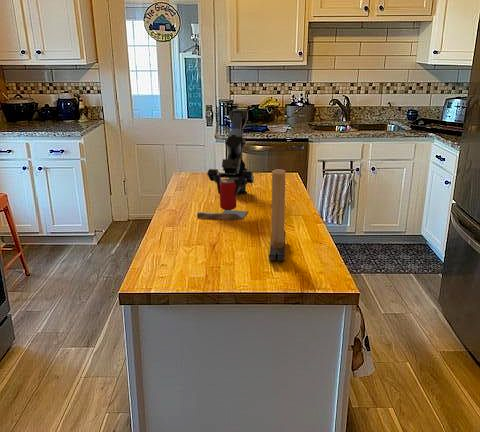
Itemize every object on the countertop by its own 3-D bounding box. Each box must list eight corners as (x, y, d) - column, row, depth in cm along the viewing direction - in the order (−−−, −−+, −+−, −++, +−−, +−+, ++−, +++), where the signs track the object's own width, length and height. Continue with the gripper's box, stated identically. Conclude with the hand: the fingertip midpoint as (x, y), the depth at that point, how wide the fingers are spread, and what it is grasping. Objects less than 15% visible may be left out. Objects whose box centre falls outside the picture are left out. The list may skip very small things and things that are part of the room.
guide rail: (197, 217, 195) (197, 212, 194) (198, 216, 196) (198, 211, 195) (235, 220, 191) (235, 215, 191) (236, 219, 193) (236, 214, 192)
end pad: (219, 217, 195) (219, 216, 195) (224, 210, 203) (224, 209, 203) (243, 219, 192) (243, 218, 192) (247, 212, 201) (247, 211, 201)
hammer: (284, 270, 152) (286, 186, 138) (268, 270, 153) (268, 186, 138) (285, 237, 170) (287, 159, 155) (271, 236, 170) (272, 158, 155)
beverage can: (237, 206, 200) (237, 178, 196) (235, 211, 193) (235, 182, 189) (221, 205, 200) (220, 178, 196) (219, 210, 194) (218, 182, 190)
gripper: (207, 149, 195) (200, 183, 188) (252, 151, 191) (246, 185, 184) (213, 164, 205) (207, 196, 198) (256, 166, 200) (250, 199, 194)
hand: (227, 194), depth 193 cm, fingers closed on beverage can, 7 cm apart
